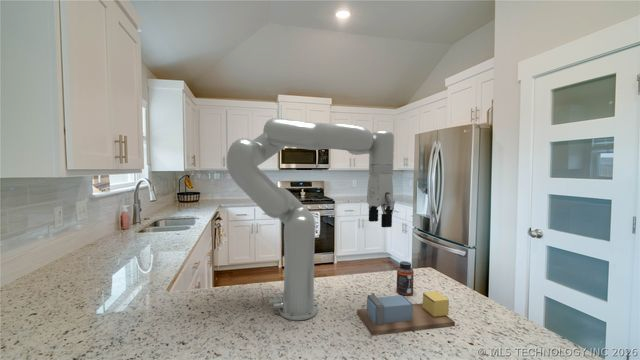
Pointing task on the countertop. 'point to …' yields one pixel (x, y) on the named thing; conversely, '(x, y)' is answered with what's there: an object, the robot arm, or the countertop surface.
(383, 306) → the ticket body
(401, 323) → the board
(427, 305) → the yellow block
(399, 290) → the supplement bottle
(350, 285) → the countertop surface
